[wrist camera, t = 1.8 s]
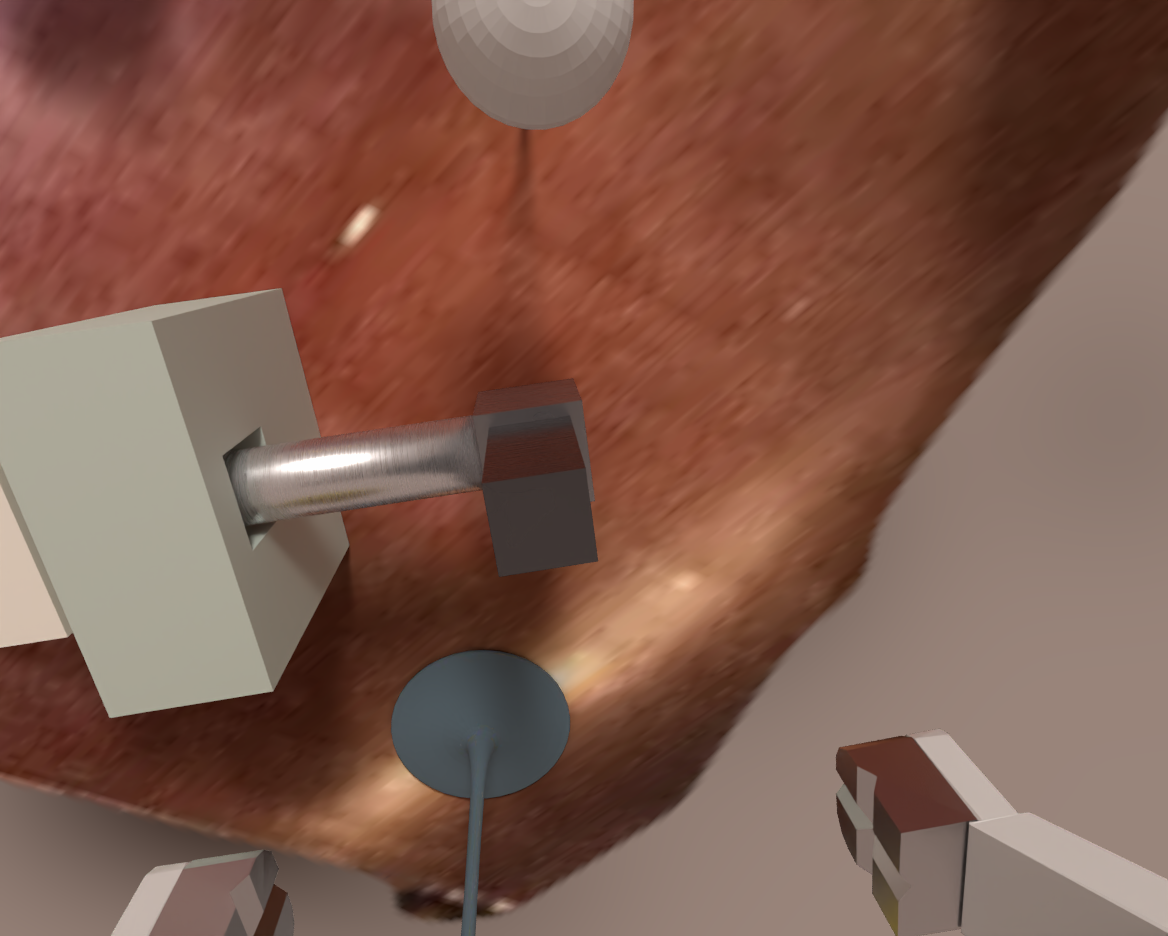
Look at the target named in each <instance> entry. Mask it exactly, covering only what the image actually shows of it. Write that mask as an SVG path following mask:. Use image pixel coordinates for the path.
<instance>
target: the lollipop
mask: <svg viewBox="0 0 1168 936" xmlns="http://www.w3.org/2000/svg"><path fill="white" fill-rule="evenodd" d="M432 13H433V26H434V30H435V35H436V39H437V43H438V48H439V50H440V53H441V55H442V58H443V60H444V63H445V65H446V67H447V70H448V71H449V73H450V74H451V76H452V78H453V79H454V81H455V83H456V84H457V86H458V87H459V89H460V90H461V91H462V92H463V93H464V94H465V95H466V96H467V98H468V99H469V100H470V101H471V102H472V103H473V104H474V105H475V106H476V107H478V108H479V109H480V110H482V111H483V112H484V113H486V114H487V115H488V116H490V117H492V118H494V119H496V120H498V121H500V122H502V123H504V124H506V125H509V126H514V127H518V128H522V129H549V128H554V127H558V126H562V125H565V124H567V123H569V122H571V121H573V120H575V119H577V118H579V117H581V116H582V115H584V114H585V113H586V112H588V111H589V110H590V109H591V108H593V107H594V106H595V105H596V104H597V103H598V102H599V101H600V100H601V99H602V97H603V96H604V95H605V94H606V93H607V92H608V90H609V89H610V87H611V86H612V84H613V82H614V81H615V79H616V77H617V75H618V74H619V72H620V70H621V67H622V64H623V61H624V59H625V56H626V53H627V50H628V46H629V41H630V35H631V30H632V24H633V0H432Z"/></svg>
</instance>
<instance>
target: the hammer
mask: <svg viewBox="0 0 1168 936" xmlns="http://www.w3.org/2000/svg"><path fill="white" fill-rule="evenodd" d="M223 459H224V462H225V466H226V469H227V472H228V475H229V478H230V481H231V485H232V488H233V491H234V494H235V497H236V500H237V504H238V507H239V510H240V513H241V516H242V519H243V523H244V526H248V525H254V524H261V523H268V522H274V521H281V520H287V519H294V518H301V517H307V516H314V515H320V514H327V513H334V512H340V511H347V510H353V509H360V508H367V507H373V506H380V505H387V504H393V503H400V502H406V501H413V500H420V499H426V498H433V497H439V496H446V495H453V494H459V493H466V492H472V491H479V490H483V494H484V500H485V505H486V510H487V516H488V521H489V526H490V532H491V537H492V542H493V548H494V553H495V558H496V564H497V569H498V574H499V577H501V576H508V575H514V574H520V573H527V572H533V571H539V570H546V569H552V568H559V567H565V566H571V565H578V564H584V563H590V562H597V561H598V557H597V549H596V542H595V534H594V527H593V519H592V511H591V504H590V502H591V501H595V498H594V490H593V483H592V475H591V467H590V460H589V452H588V444H587V437H586V429H585V421H584V414H583V406H582V400H581V397H580V395H579V392H578V389H577V387H576V384H575V382H574V379H573V378H572V379H565V380H558V381H551V382H544V383H537V384H530V385H523V386H516V387H509V388H502V389H496V390H489V391H482V392H478V395H477V400H476V404H475V409H474V413H473V415H471V416H464V417H457V418H450V419H444V420H437V421H430V422H423V423H416V424H409V425H403V426H396V427H389V428H382V429H375V430H368V431H362V432H355V433H348V434H341V435H334V436H327V437H321V438H314V439H307V440H300V441H293V442H286V443H280V444H273V445H266V446H259V447H252V448H245V449H238V450H232V451H228V452H226V453H225V454H224V455H223Z"/></svg>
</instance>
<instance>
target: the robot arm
mask: <svg viewBox="0 0 1168 936" xmlns="http://www.w3.org/2000/svg"><path fill="white" fill-rule="evenodd" d="M836 770H837V772H838V773H839V775H840V777H841V779H842V780H843V782H844V784H843V785H842V787H841V788H840V790H839V791H838V792H837V794H836V799H837V814H838V818H839V823H840V827H841V831H842V834H843V837H844V839H845V842H846V844H847V847H848V849H849V851H850V853H851V855H852V857H853V859H854V861H855V862H856V864H857V865H858V866H859V867H861V868H863V869H864V870H866V871H867V872H869V873H870V874H872V894H873V895H874V897H875V899H876V901H877V902H878V904H879V906H880V908H881V910H882V912H883V913H884V915H885V917H886V919H887V921H888V922H889V924H890V926H891V928H892V930H893V931H894V933H895V935H896V936H920V935H926V934H932V933H939V932H945V931H951V930H957V929H961V933H962V934H963V935H965V936H1168V879H1165V878H1163V877H1161V876H1159V875H1157V874H1155V873H1153V872H1151V871H1149V870H1147V869H1145V868H1143V867H1141V866H1139V865H1137V864H1135V863H1132V862H1131V861H1129V860H1127V859H1124V858H1122V857H1120V856H1118V855H1116V854H1114V853H1112V852H1110V851H1108V850H1106V849H1104V848H1102V847H1100V846H1098V845H1096V844H1094V843H1092V842H1090V841H1088V840H1086V839H1084V838H1082V837H1079V836H1077V835H1075V834H1073V833H1071V832H1069V831H1067V830H1065V829H1063V828H1061V827H1059V826H1057V825H1055V824H1053V823H1051V822H1049V821H1047V820H1044V819H1043V818H1041V817H1039V816H1036V815H1034V814H1032V813H1030V812H1026V813H1020V814H1019V813H1017V811H1016V810H1015V809H1014V808H1013V807H1012V805H1011V804H1010V803H1009V802H1008V801H1007V800H1006V799H1005V798H1004V796H1003V795H1002V794H1001V793H1000V792H999V791H998V790H997V789H996V787H995V786H994V785H993V784H992V783H991V782H990V781H989V779H988V778H987V777H986V776H985V775H984V774H983V773H982V772H981V770H980V769H979V768H978V767H977V766H976V765H975V764H974V763H973V762H972V760H971V759H970V758H969V757H968V756H967V755H966V754H965V752H964V751H963V750H962V749H961V748H960V747H959V746H958V744H957V743H956V742H955V741H954V740H953V739H952V738H951V737H950V735H949V734H948V733H947V732H945V731H943V730H941V729H934V730H929V731H924V732H919V733H913V734H908V735H906V736H898V737H893V738H887V739H883V740H877V741H871V742H866V743H861V744H856V745H850V746H845V747H840V748H839V749H838V752H837V755H836ZM278 870H279V868H278V866H277V863H276V861H275V858H274V856H273V854H272V851H268V850H258V851H252V852H245V853H238V854H232V855H226V856H219V857H212V858H205V859H199V860H193V861H192V862H185V863H178V864H172V865H164V866H158V867H155V868H154V869H153V870H152V871H150V872H149V873H148V874H147V875H146V876H145V877H144V878H143V880H142V882H141V883H140V885H139V887H138V889H137V890H136V892H135V894H134V896H133V898H132V900H131V901H130V903H129V904H128V906H127V908H126V910H125V911H124V913H123V915H122V917H121V919H120V920H119V922H118V923H117V925H116V927H115V929H114V931H113V932H112V934H111V936H293V933H294V918H293V909H292V905H291V902H290V899H289V896H288V893H287V892H285V891H284V890H282V889H281V888H279V887H277V886H276V885H275V884H274V881H275V878H276V876H277V873H278Z"/></svg>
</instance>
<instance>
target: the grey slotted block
mask: <svg viewBox="0 0 1168 936" xmlns="http://www.w3.org/2000/svg"><path fill="white" fill-rule="evenodd" d="M314 438H321V436H320V432H319V428H318V425H317V421H316V417H315V413H314V410H313V406H312V402H311V398H310V394H309V391H308V387H307V383H306V379H305V375H304V372H303V368H302V364H301V360H300V356H299V353H298V349H297V345H296V341H295V337H294V334H293V330H292V326H291V322H290V318H289V315H288V311H287V307H286V303H285V299H284V296H283V292H282V288H280V289H272V290H265V291H257V292H250V293H243V294H235V295H228V296H221V297H213V298H206V299H199V300H191V301H184V302H177V303H169V304H162V305H155V306H150V307H145V308H140V309H136V310H131V311H126V312H121V313H117V314H112V315H107V316H103V317H98V318H93V319H88V320H84V321H79V322H74V323H69V324H65V325H60V326H55V327H51V328H46V329H41V330H36V331H32V332H27V333H22V334H17V335H13V336H8V337H3V338H0V463H1V466H2V468H3V470H4V473H5V475H6V477H7V480H8V482H9V484H10V487H11V489H12V491H13V494H14V496H15V498H16V501H17V503H18V505H19V508H20V510H21V512H22V515H23V517H24V519H25V522H26V524H27V526H28V529H29V531H30V533H31V536H32V538H33V540H34V543H35V545H36V547H37V550H38V552H39V554H40V557H41V559H42V561H43V563H44V566H45V568H46V570H47V573H48V575H49V577H50V580H51V582H52V584H53V587H54V589H55V591H56V594H57V596H58V598H59V601H60V603H61V605H62V608H63V610H64V612H65V615H66V617H67V619H68V622H69V624H70V626H71V629H72V631H73V633H74V636H75V638H76V640H77V643H78V645H79V647H80V650H81V652H82V654H83V657H84V659H85V661H86V664H87V666H88V668H89V671H90V673H91V675H92V678H93V680H94V682H95V685H96V687H97V689H98V692H99V694H100V696H101V699H102V701H103V703H104V706H105V708H106V710H107V713H108V715H109V717H110V718H113V717H119V716H125V715H131V714H137V713H143V712H150V711H156V710H162V709H168V708H174V707H180V706H186V705H193V704H199V703H205V702H211V701H217V700H223V699H229V698H236V697H242V696H248V695H254V694H260V693H266V692H272V691H274V689H275V687H276V685H277V683H278V681H279V679H280V677H281V676H282V674H283V672H284V670H285V668H286V666H287V664H288V662H289V660H290V658H291V656H292V654H293V653H294V651H295V649H296V647H297V645H298V643H299V641H300V639H301V637H302V635H303V633H304V631H305V630H306V628H307V626H308V624H309V622H310V620H311V618H312V616H313V614H314V612H315V610H316V609H317V607H318V605H319V603H320V601H321V599H322V597H323V595H324V593H325V591H326V589H327V587H328V586H329V584H330V582H331V580H332V578H333V576H334V574H335V572H336V570H337V568H338V566H339V564H340V563H341V561H342V559H343V557H344V555H345V553H346V551H347V549H348V547H349V542H348V538H347V535H346V531H345V527H344V523H343V520H342V516H341V512H334V513H327V514H320V515H314V516H307V517H301V518H294V519H287V520H281V521H274V522H268V523H261V524H254V525H248V526H244V523H243V519H242V516H241V513H240V510H239V507H238V504H237V500H236V497H235V494H234V491H233V488H232V485H231V481H230V478H229V475H228V472H227V469H226V466H225V462H224V459H223V455H224V454H225V453H226V452H228V451H232V450H238V449H245V448H252V447H259V446H266V445H273V444H280V443H286V442H293V441H300V440H307V439H314Z"/></svg>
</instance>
